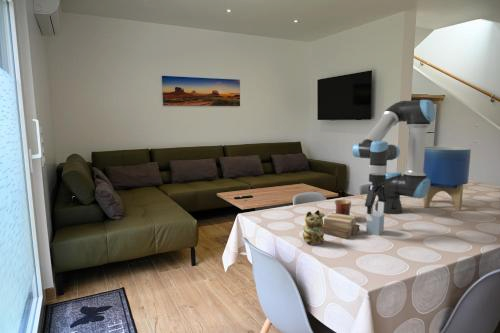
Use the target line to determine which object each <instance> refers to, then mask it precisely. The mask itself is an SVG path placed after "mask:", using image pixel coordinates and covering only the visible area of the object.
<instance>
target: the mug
mask: <svg viewBox="0 0 500 333" xmlns="http://www.w3.org/2000/svg"><path fill="white" fill-rule="evenodd" d="M334 204H335V213H337V214H344V215H350V216H351V214H350V213H351V206H352V201H351V200H347V199H336V200H335V201H334Z"/></svg>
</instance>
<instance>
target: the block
mask: <svg viewBox="0 0 500 333" xmlns="http://www.w3.org/2000/svg"><path fill="white" fill-rule="evenodd" d="M384 224H385V213H384V214H380V213H378V212H374V211H373V221H369V220H366V226H365V227H366V228H365V232H366V234H372V235H375V236H380V235H382V234H383V233H384V227H385V226H384Z"/></svg>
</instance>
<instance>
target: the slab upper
mask: <svg viewBox="0 0 500 333" xmlns="http://www.w3.org/2000/svg"><path fill="white" fill-rule="evenodd" d="M356 222H357V216H356V215H351V214H350V215H344V214H337V213H336V212H331V213H330V214H328V215H327V216H326V217H324V218H323V224H324V227H328V228H333V229H339V230H345V231H350V230H351V229H352V228H353V227H354V225H355V224H356Z"/></svg>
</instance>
